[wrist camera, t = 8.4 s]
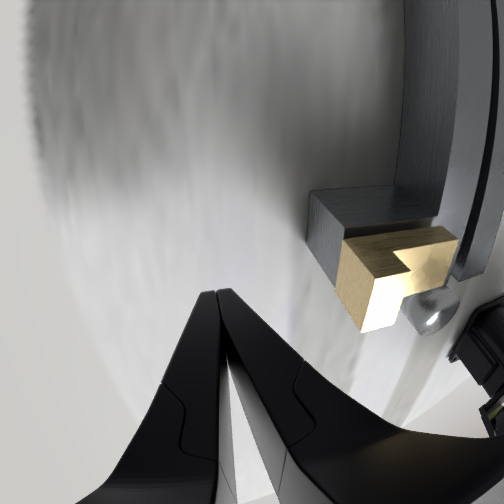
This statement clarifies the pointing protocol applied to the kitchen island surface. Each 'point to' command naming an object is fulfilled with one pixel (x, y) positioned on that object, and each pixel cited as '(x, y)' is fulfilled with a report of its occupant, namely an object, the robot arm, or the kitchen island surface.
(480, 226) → the tong arm
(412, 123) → the tong base
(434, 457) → the robot arm
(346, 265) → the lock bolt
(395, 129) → the kitchen island surface
